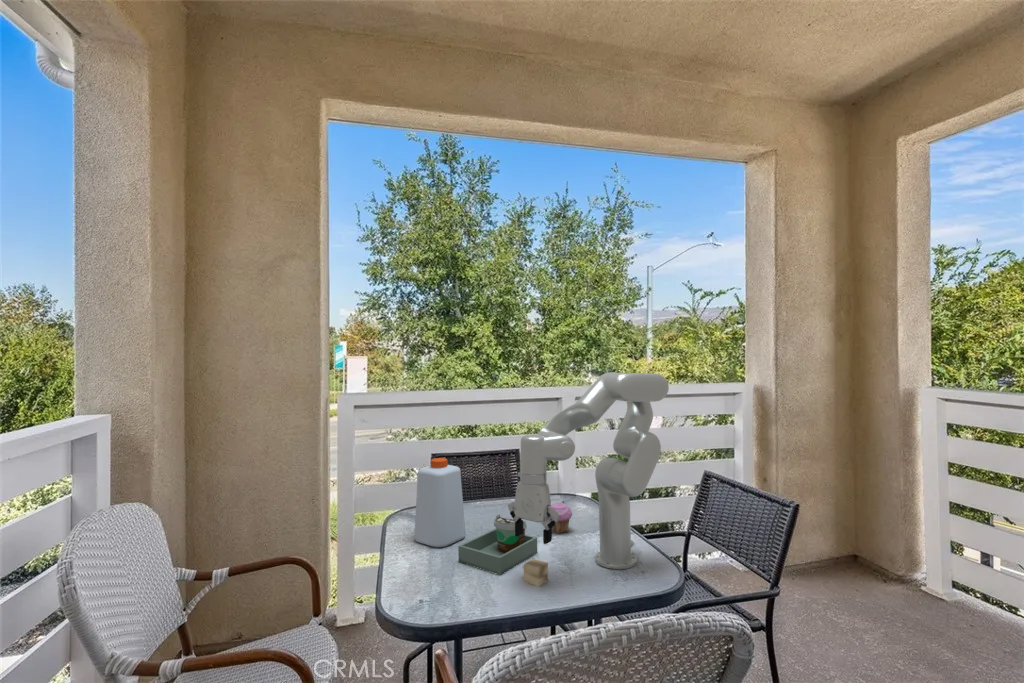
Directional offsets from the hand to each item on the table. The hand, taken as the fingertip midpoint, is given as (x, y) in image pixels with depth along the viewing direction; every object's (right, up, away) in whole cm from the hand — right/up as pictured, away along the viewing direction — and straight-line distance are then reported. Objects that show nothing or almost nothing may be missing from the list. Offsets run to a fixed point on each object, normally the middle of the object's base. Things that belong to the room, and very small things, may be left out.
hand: (532, 538), depth 145 cm
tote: (-10, -13, +17) cm, 24 cm away
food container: (-8, -12, +20) cm, 25 cm away
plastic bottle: (-31, -14, +34) cm, 48 cm away
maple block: (+1, -12, 0) cm, 12 cm away
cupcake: (+11, -13, +40) cm, 43 cm away
